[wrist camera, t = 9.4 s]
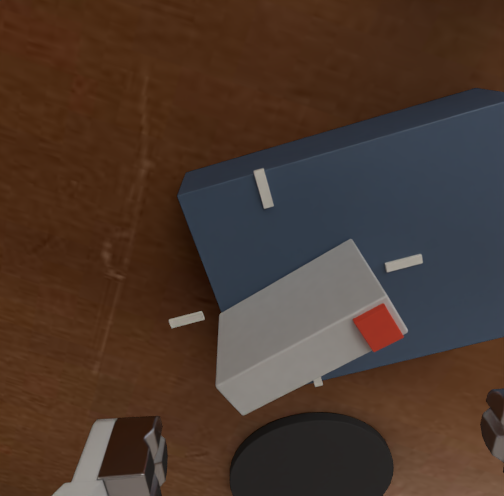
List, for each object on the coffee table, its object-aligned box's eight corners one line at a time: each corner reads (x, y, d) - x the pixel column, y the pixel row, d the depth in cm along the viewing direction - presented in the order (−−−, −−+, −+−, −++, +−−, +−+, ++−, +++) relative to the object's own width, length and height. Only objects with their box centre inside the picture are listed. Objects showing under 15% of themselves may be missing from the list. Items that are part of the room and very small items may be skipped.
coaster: (254, 532, 28) (254, 541, 28) (208, 435, 24) (207, 443, 23) (399, 501, 27) (402, 510, 27) (378, 394, 23) (381, 403, 22)
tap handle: (240, 339, 17) (243, 423, 13) (218, 313, 16) (214, 393, 13) (369, 268, 16) (413, 337, 12) (351, 237, 15) (390, 300, 11)
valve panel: (213, 364, 22) (210, 412, 19) (136, 184, 17) (117, 211, 14) (484, 296, 20) (524, 336, 18) (476, 84, 16) (529, 92, 13)
